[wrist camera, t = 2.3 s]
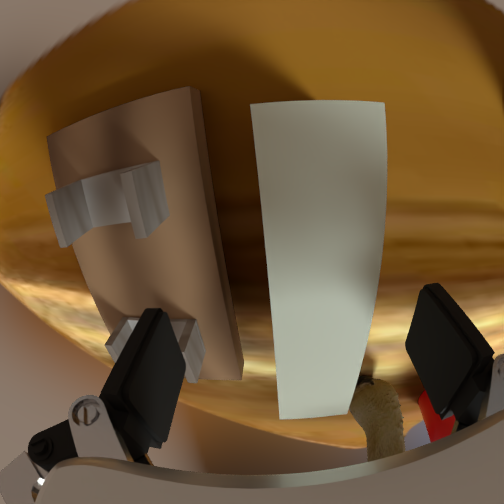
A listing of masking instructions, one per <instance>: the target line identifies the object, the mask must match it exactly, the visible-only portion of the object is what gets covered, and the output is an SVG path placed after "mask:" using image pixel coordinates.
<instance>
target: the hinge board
mask: <svg viewBox="0 0 504 504" xmlns="http://www.w3.org/2000/svg"><path fill="white" fill-rule="evenodd" d="M47 142H48V149H49V155H50V161H51V166H52V171H53V176H54V181H55V185H56V190H55V191H53V192H51V193H48V194H46V195H45V198H46V202H47V205H48V209H49V213H50V216H51V220H52V223H53V226H54V230H55V233H56V236H57V239H58V242H59V245H60V248H61V247H68V246H69V245H70V244H72V245H73V248H74V251H75V254H76V257H77V260H78V262H79V265H80V268H81V270H82V273H83V275H84V278H85V280H86V283H87V285H88V288H89V290H90V292H91V295H92V297H93V299H94V301H95V304H96V306H97V308H98V310H99V312H100V314H101V316H102V319H103V321H104V323H105V325H106V327H107V329H108V331H109V333H110V337H109V339H108V340H107V342H106V343H105V347H106V348H107V350H108V352H109V354H110V355H111V357H112V359H113V360H114V362H115V363H116V361H117V359H118V357H119V355H120V353H121V352H122V350H123V348H124V346H125V344H126V342H127V340H128V338H129V337H130V335H131V333H132V331H133V329H134V328H135V326H136V324H137V322H138V320H139V319H140V317H141V315H142V313H143V312H144V310H145V309H146V308H161V309H162V310H163V312H167V314H168V316H169V319H170V322H171V325H172V328H173V330H174V333H175V336H176V338H177V341H178V344H179V346H180V349H181V352H182V354H183V357H184V359H185V362H186V371H185V375H184V378H186V379H187V381H188V383H197V382H198V379H212V380H242V374H243V366H244V359H243V354H242V349H241V344H240V339H239V334H238V329H237V324H236V318H235V313H234V308H233V302H232V297H231V291H230V286H229V280H228V275H227V269H226V263H225V258H224V252H223V246H222V240H221V234H220V228H219V222H218V215H217V209H216V203H215V196H214V190H213V183H212V176H211V170H210V163H209V156H208V149H207V141H206V134H205V127H204V119H203V111H202V103H201V95H200V90H198V89H195V88H193V87H191V86H187V87H182V88H178V89H174V90H170V91H166V92H162V93H158V94H154V95H151V96H147V97H144V98H141V99H138V100H134V101H131V102H128V103H125V104H122V105H119V106H116V107H114V108H111V109H108V110H105V111H103V112H100V113H98V114H95V115H93V116H90V117H88V118H85V119H83V120H81V121H78V122H76V123H74V124H72V125H70V126H67V127H65V128H63V129H61V130H59V131H57V132H55V133H53V134H51V135H49V136H47Z"/></svg>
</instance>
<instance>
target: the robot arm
mask: <svg viewBox="0 0 504 504" xmlns="http://www.w3.org/2000/svg"><path fill="white" fill-rule="evenodd" d="M405 347H406V350H407V353H408V355H409V357H410V359H411V361H412V363H413V365H414V367H415V369H416V371H417V373H418V375H419V377H420V379H421V382H422V384H423V386H424V388H425V390H426V393H427V395H428V397H429V399H430V402H431V404H432V406H433V409H434V411H435V413H436V414H439V416H440V418H441V420H444V419H446V418H449V417H451V416H453V414H454V416H455V423H454V426H453V429H452V432H451V435H448V436H446V437H444V438H441V439H439V440H436V441H434V442H431V443H429V444H426V445H423V446H421V447H418V448H415V449H412V450H409V451H406V452H403V453H400V454H396V455H393V456H389V457H386V458H382V459H378V460H374V461H370V462H366V463H362V464H357V465H352V466H348V467H342V468H336V469H330V470H323V471H315V472H306V473H295V474H281V475H223V474H209V473H199V472H191V471H182V470H175V469H168V468H162V467H157V466H154V465H153V463H152V461H151V460H150V458H149V456H148V454H147V453H148V449H149V447H154V448H159V449H160V448H161V446H162V443H163V442H166V441H167V438H168V434H169V430H170V427H171V423H172V419H173V415H174V411H175V408H176V404H177V400H178V397H179V393H180V389H181V386H182V382H183V378H184V375H185V371H186V362H185V359H184V357H183V354H182V352H181V349H180V346H179V344H178V341H177V338H176V336H175V333H174V330H173V328H172V325H171V322H170V319H169V316H168V314H167V312H163V310H162V309H161V308H146V309H145V310H144V312H143V313H142V315H141V317H140V319H139V320H138V322H137V324H136V326H135V328H134V329H133V331H132V333H131V335H130V337H129V338H128V340H127V342H126V344H125V346H124V348H123V350H122V352H121V353H120V355H119V357H118V359H117V361H116V363H115V365H114V367H113V369H112V371H111V373H110V375H109V377H108V379H107V381H106V383H105V385H104V387H103V389H102V391H101V394H100V396H99V397H97V396H94V395H86V396H82V397H80V398H78V399H77V400H76V401H75V402H74V403H72V405H71V407H70V409H69V412H68V420H65V421H64V422H61V423H59V424H57V425H55V426H53V427H50V428H48V429H46V430H44V431H41V432H39V433H37V434H36V435H34V436H33V437H32V438H31V440H30V442H29V445H28V453H27V452H25V451H24V452H23V453H22V454H20V455H19V456H18V457H17V458H16V459H14V460H13V461H12V462H11V463H10V464H8V466H6V467H5V468H4V469H3V470H1V472H0V493H1V495H2V497H3V499H4V501H5V503H6V504H504V354H500V355H499V356H497V357H496V358H495V360H494V359H493V358H492V356H493V354H494V353H495V352H494V351H493V349H492V348H491V347H490V345H489V344H488V342H487V341H486V340H485V338H484V337H483V336H482V334H481V333H480V332H479V330H478V329H477V328H476V327H475V325H474V324H473V323H472V321H471V320H470V319H469V318H468V316H467V315H466V314H465V313H464V311H463V310H462V309H461V308H460V307H459V305H458V304H457V303H456V302H455V301H454V300H453V298H452V297H451V296H450V295H449V294H448V293H447V292H446V290H445V289H444V288H443V287H442V286H441V285H440V284H439V283H433V284H427V285H424V287H423V289H421V290H420V292H419V296H418V300H417V304H416V308H415V312H414V315H413V319H412V322H411V326H410V329H409V332H408V336H407V339H406V342H405Z"/></svg>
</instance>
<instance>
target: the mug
mask: <svg viewBox="0 0 504 504" xmlns="http://www.w3.org/2000/svg"><path fill="white" fill-rule="evenodd" d="M418 404H419V407H420V410H421V413H422V416H423V419H424V422H425V424H426V428H427V431H428V435H429V438H430V442H434V441H436V440H439V439H441V438H444V437H446V436H448V435H451V432H452V429H453V426H454V423H455V416H454V414H453V416H451V417H449V418H446V419H444V420H441V418H440V416H439V414H436V413H435V411H434V409H433V406H432V404H431V402H430V399H429V397H428V395H427V393H426V390H424V391H423V393H422V394H421V395H420V397H419V400H418Z"/></svg>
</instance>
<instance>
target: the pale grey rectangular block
mask: <svg viewBox="0 0 504 504" xmlns="http://www.w3.org/2000/svg"><path fill="white" fill-rule="evenodd" d="M250 108H251V116H252V125H253V134H254V143H255V152H256V161H257V170H258V180H259V189H260V199H261V208H262V218H263V228H264V238H265V249H266V259H267V270H268V281H269V292H270V303H271V314H272V326H273V338H274V350H275V362H276V375H277V388H278V401H279V415H280V419H299V418H313V417H324V416H333V415H341V414H347V412H348V409H349V406H350V403H351V400H352V397H353V393H354V390H355V387H356V383H357V380H358V376H359V373H360V369H361V365H362V361H363V357H364V353H365V349H366V345H367V341H368V336H369V331H370V327H371V322H372V317H373V312H374V306H375V300H376V294H377V288H378V282H379V275H380V267H381V259H382V250H383V241H384V229H385V216H386V196H387V137H386V118H385V105H384V103H381V102H368V101H346V100H306V101H284V102H270V103H259V104H250Z"/></svg>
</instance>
